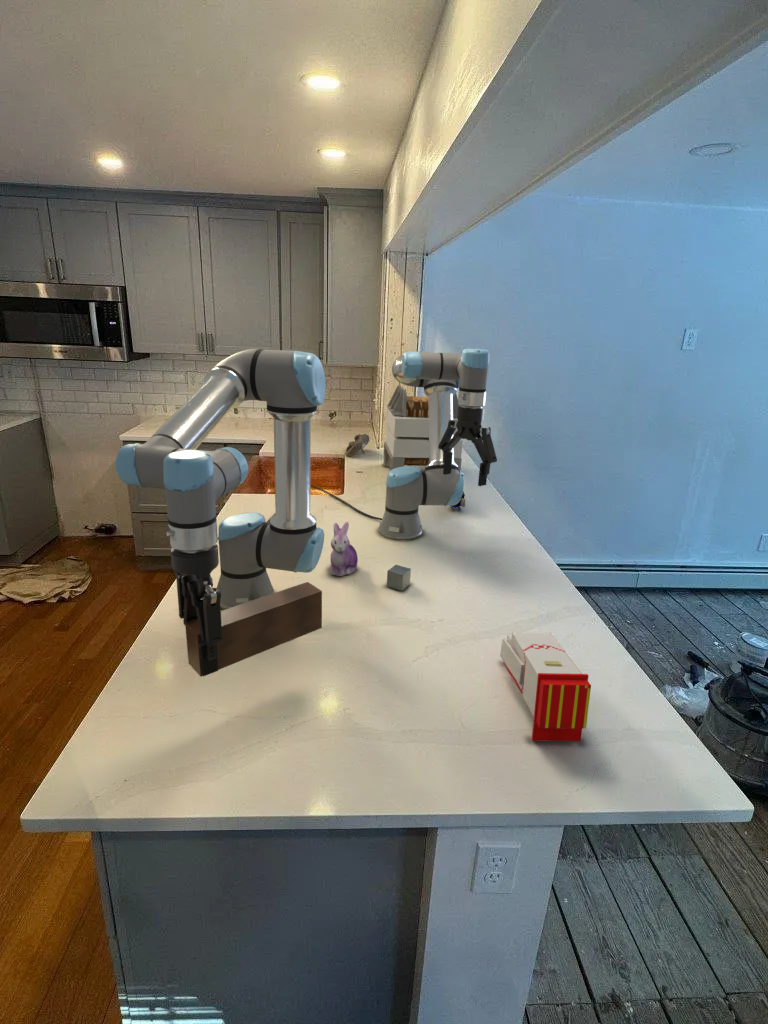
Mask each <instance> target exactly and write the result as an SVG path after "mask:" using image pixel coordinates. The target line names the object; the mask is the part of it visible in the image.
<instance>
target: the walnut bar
mask: <svg viewBox="0 0 768 1024" xmlns="http://www.w3.org/2000/svg"><path fill="white" fill-rule="evenodd" d="M221 623H222V638H223V641H222V642H220V643H217V644H216V646H217V662H218V671H219V670H222V669H224V668H227V667H229V666H232V665H234V664H237V663H239V662H241V661H244V660H247V659H250V658H252V657H254V656H256V655H258V654H262V653H264V652H266V651H268V650H271V649H273V648H276V647H279V646H281V645H284V644H286V643H288V642H291V641H293V640H296V639H298V638H301V637H303V636H306V635H309V634H311V633H313V632H315V631H318V630H320V629H322V628H323V591H322V590H321V589H320V588H318V587H316V586H315V585H313V584H312V583H310V582H308V581H306V582H303V583H300V584H297V585H295V586H292V587H288V588H285V589H282V590H279V591H276V592H274V593H273V594H270V595H267V596H264V597H261V598H258V599H255V600H252V601H249V602H246V603H243V604H240V605H237V606H234V607H231V608H228V609H225V610H224V609H222V610H221ZM184 627H185V628H184V629H185V638H186V649H188V651H187V659H188V665H189V666H190V667H191V668H192V669H193V670H194V671H195V672H196V673H197V675H199V677H201V678H202V677H204V676H203V675H202V672H201V658H200V647H199V645H198V643H197V642H200V641H202V640H201V634H200V629H199V623H198V619H196V620H193V621H190V622H187V623H185V625H184Z"/></svg>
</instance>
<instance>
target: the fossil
mask: <svg viewBox="0 0 768 1024" xmlns="http://www.w3.org/2000/svg"><path fill="white" fill-rule="evenodd" d="M369 443H370V436H369V434H367V433H363V434H361V433H360V434H356V435H355V436H354V441H349V442H348V445H347V447H346V449H345V455H346V457H348V458H351V457H354V456H356V455H357V454H359V453H361V452H362V454H365V451H364V448H365V447H366V446H368V444H369Z"/></svg>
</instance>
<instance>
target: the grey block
mask: <svg viewBox="0 0 768 1024" xmlns="http://www.w3.org/2000/svg"><path fill="white" fill-rule="evenodd" d="M411 577H412V568H409V567H406V566H403V565H399V564H394V565H393V566H392V567H390V568H389V569H388V570H387V572H386V587H387V588H390V589H393V590H397V591H400V592H402V591H404V590H405V589H406V588H407V587H409V586H410V585H411Z"/></svg>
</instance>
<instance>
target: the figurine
mask: <svg viewBox="0 0 768 1024" xmlns="http://www.w3.org/2000/svg"><path fill="white" fill-rule="evenodd" d="M349 526H350V523H349V521H346V522H345V523H343V525H342V527H341V528H340V526H339V524H338V522H334V523H333V537H332V538H331V541H330V547H331V549H332V551H331V553H330V557H329V559H330V568H329V570H330V574H331V575H333V576H337V577H340V576H341V577H344V576H346V575H351V574H353V573H354V572H356V571H357V567H358V562H359V561H358V553H357V551H356V549H355V547H354V546H353V545H352V544H351V541H350V539H349V537H348V531H349Z"/></svg>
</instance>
